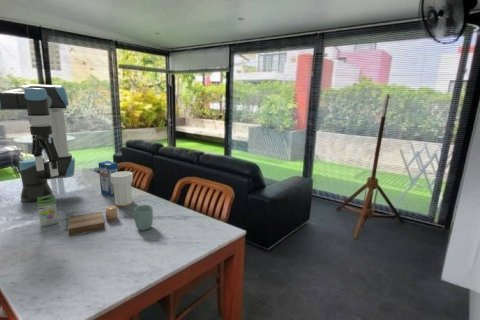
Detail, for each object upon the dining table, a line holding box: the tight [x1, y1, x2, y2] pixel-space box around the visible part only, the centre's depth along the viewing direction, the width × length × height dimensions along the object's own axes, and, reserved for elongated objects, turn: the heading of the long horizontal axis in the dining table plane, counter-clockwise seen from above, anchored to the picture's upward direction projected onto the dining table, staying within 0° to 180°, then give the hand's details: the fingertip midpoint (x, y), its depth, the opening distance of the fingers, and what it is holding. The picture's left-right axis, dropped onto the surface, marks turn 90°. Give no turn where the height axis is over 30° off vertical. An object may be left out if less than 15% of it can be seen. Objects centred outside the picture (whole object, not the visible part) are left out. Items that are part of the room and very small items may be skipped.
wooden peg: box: [105, 205, 119, 222], centre depth 133 cm, size 5×5×6 cm
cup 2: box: [133, 204, 154, 231], centre depth 124 cm, size 8×8×10 cm
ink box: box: [36, 194, 59, 228], centre depth 126 cm, size 7×4×13 cm, turn 126°
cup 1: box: [110, 170, 134, 207], centre depth 151 cm, size 11×11×17 cm
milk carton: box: [97, 160, 119, 198], centre depth 164 cm, size 10×6×20 cm, turn 58°
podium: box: [67, 210, 106, 236], centre depth 126 cm, size 14×14×3 cm
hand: (47, 173), depth 120 cm, fingers open, 13 cm apart
